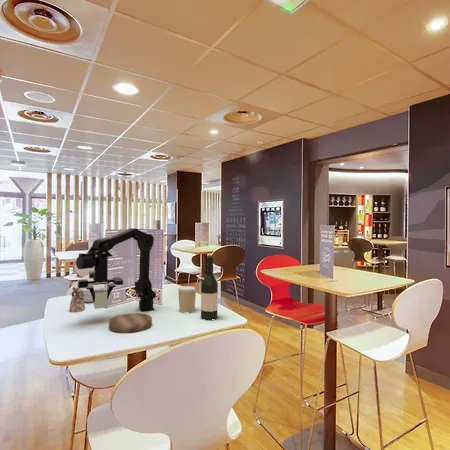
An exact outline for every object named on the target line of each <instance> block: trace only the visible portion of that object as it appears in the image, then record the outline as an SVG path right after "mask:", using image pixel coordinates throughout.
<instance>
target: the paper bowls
mask: <svg viewBox="0 0 450 450" xmlns="http://www.w3.org/2000/svg"><path fill="white" fill-rule="evenodd" d="M93 287H94V291H100V290H104V287H105V285H102V284H99V285H93ZM81 289H82V292H83V294H84V297H83V298H84V303H94V301H93V298H92V295H91V293H90V290H89V289H86V288H81Z"/></svg>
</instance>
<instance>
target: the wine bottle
mask: <svg viewBox="0 0 450 450" xmlns="http://www.w3.org/2000/svg"><path fill="white" fill-rule="evenodd" d="M205 271H206V275H205V276H204V279H203V280H202V282H201V284H200V288H201V289H200V296H201V297H200V319H201V318H202V319H201V320H203V319H205V320H204V321H213V320H212V319H215V320H217V319H218V302H219V301H218V300H219V299H218V294H219V293H218V292H219V291H218V290H219V286H218V284H219V283H218V281H217V279H216V277H215V276H214V257H213V255H207V257H206V270H205ZM216 318H217V319H216Z"/></svg>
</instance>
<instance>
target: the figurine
mask: <svg viewBox="0 0 450 450" xmlns="http://www.w3.org/2000/svg"><path fill="white" fill-rule="evenodd" d="M72 290H73V291H72V292H71V300H70V303H69V312H70V313H80V312H84V311H85V310H86V305H85V302H84V298H83V297H84V294H83V292H82V289H81V288H78V286H77V287H75V286H73V287H72Z"/></svg>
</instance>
